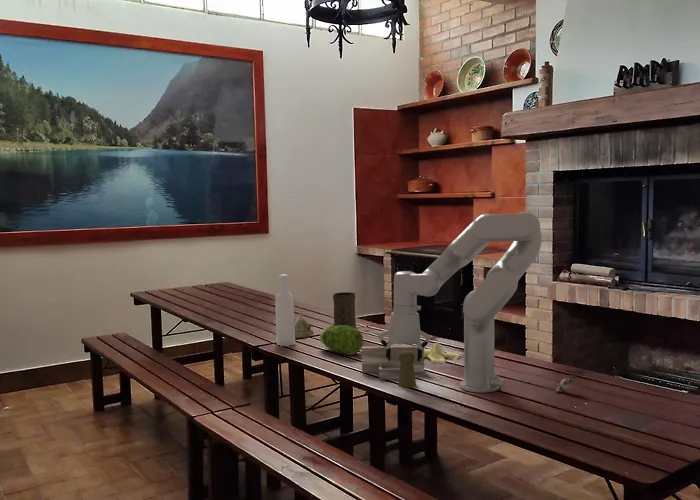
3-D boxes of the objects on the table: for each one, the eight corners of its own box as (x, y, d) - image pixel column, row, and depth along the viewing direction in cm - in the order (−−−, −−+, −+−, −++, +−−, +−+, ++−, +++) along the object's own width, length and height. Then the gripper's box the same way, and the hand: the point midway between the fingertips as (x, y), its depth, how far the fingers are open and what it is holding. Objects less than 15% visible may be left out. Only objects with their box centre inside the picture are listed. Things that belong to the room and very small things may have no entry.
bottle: (298, 343, 277) (296, 274, 274) (287, 347, 270) (285, 276, 268) (284, 341, 281) (281, 273, 279) (272, 345, 275) (270, 275, 272)
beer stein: (357, 339, 281) (356, 293, 281) (332, 340, 282) (331, 294, 281) (357, 334, 297) (356, 291, 296) (334, 334, 297) (333, 291, 297)
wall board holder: (362, 371, 230) (361, 346, 230) (424, 371, 229) (423, 346, 228) (361, 379, 220) (360, 353, 220) (425, 379, 219) (425, 353, 218)
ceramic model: (288, 332, 301) (287, 311, 300) (312, 331, 303) (311, 309, 302) (289, 338, 287) (289, 316, 286) (315, 337, 289) (314, 315, 288)
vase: (579, 392, 201) (579, 374, 200) (571, 397, 197) (571, 379, 196) (563, 388, 205) (562, 370, 204) (555, 394, 201) (554, 375, 200)
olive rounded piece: (415, 387, 210) (414, 354, 209) (396, 387, 211) (396, 354, 210) (417, 382, 216) (416, 350, 215) (399, 381, 217) (398, 349, 216)
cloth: (433, 349, 262) (433, 335, 262) (470, 357, 249) (470, 341, 248) (396, 360, 247) (395, 344, 247) (433, 369, 234) (433, 352, 233)
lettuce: (333, 345, 271) (332, 319, 270) (367, 353, 256) (367, 325, 255) (312, 350, 264) (311, 323, 263) (346, 359, 249) (345, 330, 248)
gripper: (430, 307, 215) (429, 358, 216) (378, 306, 215) (377, 356, 217) (432, 312, 207) (431, 364, 209) (378, 310, 208) (377, 362, 210)
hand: (403, 360), depth 213 cm, fingers open, 9 cm apart
